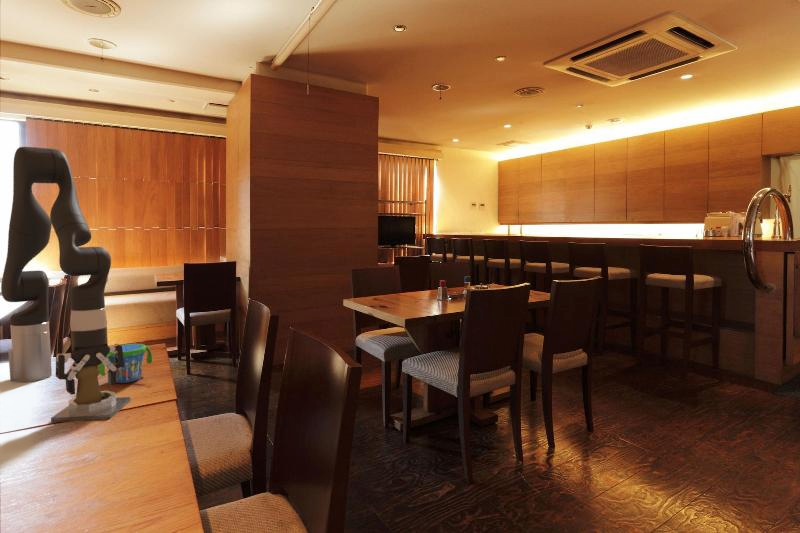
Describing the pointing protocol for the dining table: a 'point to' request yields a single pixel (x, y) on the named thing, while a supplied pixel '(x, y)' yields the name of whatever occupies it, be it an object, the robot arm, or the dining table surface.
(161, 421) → the dining table surface
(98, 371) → the cork
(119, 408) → the hub
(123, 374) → the snack cup
